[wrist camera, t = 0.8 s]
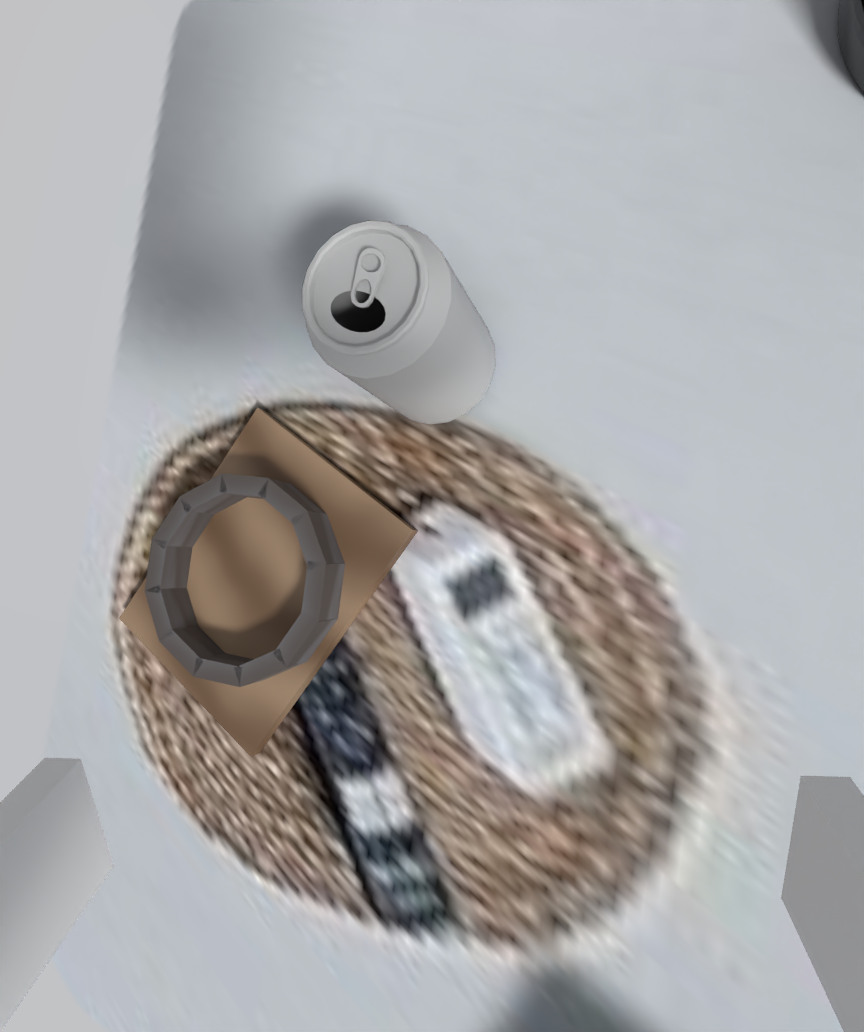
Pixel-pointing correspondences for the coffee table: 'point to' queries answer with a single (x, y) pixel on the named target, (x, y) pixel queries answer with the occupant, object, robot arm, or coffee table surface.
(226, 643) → the can holder
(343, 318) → the can
